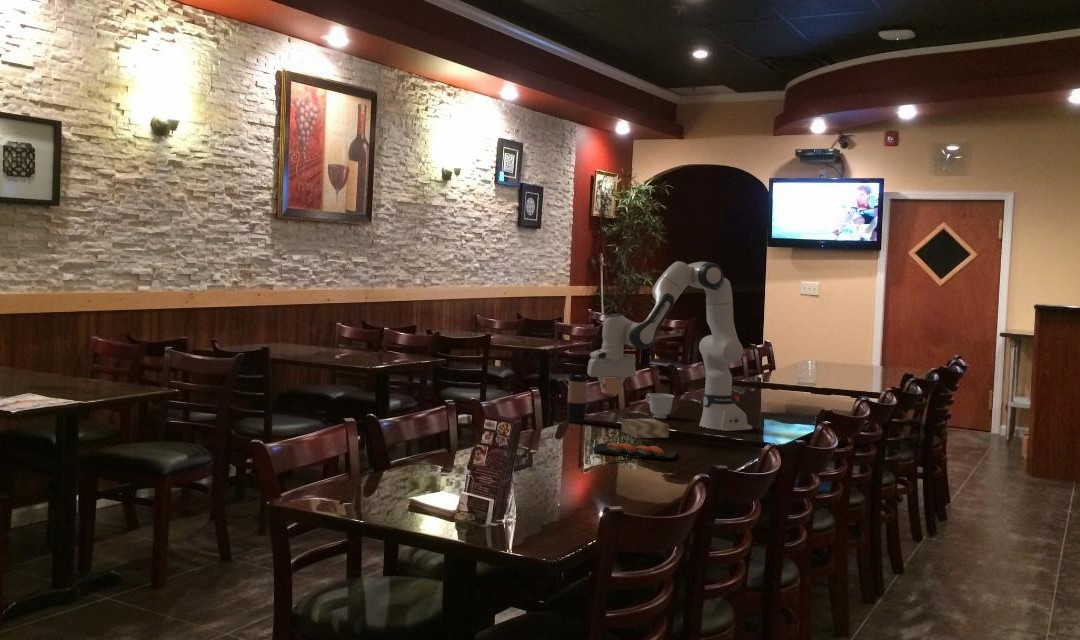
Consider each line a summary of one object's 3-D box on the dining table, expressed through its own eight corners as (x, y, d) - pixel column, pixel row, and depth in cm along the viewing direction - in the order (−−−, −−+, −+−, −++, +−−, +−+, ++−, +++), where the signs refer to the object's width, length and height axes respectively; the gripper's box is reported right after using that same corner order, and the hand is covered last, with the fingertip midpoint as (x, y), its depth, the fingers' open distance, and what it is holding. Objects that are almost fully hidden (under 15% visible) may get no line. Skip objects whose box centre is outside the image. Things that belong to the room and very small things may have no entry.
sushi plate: (678, 455, 340) (678, 445, 340) (665, 472, 311) (666, 461, 311) (599, 447, 348) (599, 437, 347) (579, 463, 319) (580, 452, 319)
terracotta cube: (614, 391, 390) (615, 377, 389) (620, 393, 384) (621, 379, 383) (601, 392, 387) (601, 377, 387) (607, 394, 382) (607, 379, 381)
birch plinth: (652, 430, 387) (653, 418, 386) (668, 437, 373) (669, 424, 373) (621, 431, 382) (621, 419, 382) (636, 437, 369) (637, 425, 368)
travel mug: (564, 420, 401) (566, 373, 400) (581, 420, 404) (583, 374, 402) (570, 423, 394) (572, 376, 393) (587, 423, 396) (589, 376, 395)
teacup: (654, 413, 434) (656, 391, 433) (679, 418, 422) (680, 396, 422) (636, 415, 426) (637, 393, 425) (660, 420, 414) (661, 397, 414)
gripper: (632, 353, 391) (631, 386, 392) (586, 353, 384) (585, 386, 385) (639, 354, 385) (637, 388, 386) (592, 354, 378) (591, 389, 379)
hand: (611, 387), depth 386 cm, fingers closed on terracotta cube, 6 cm apart
